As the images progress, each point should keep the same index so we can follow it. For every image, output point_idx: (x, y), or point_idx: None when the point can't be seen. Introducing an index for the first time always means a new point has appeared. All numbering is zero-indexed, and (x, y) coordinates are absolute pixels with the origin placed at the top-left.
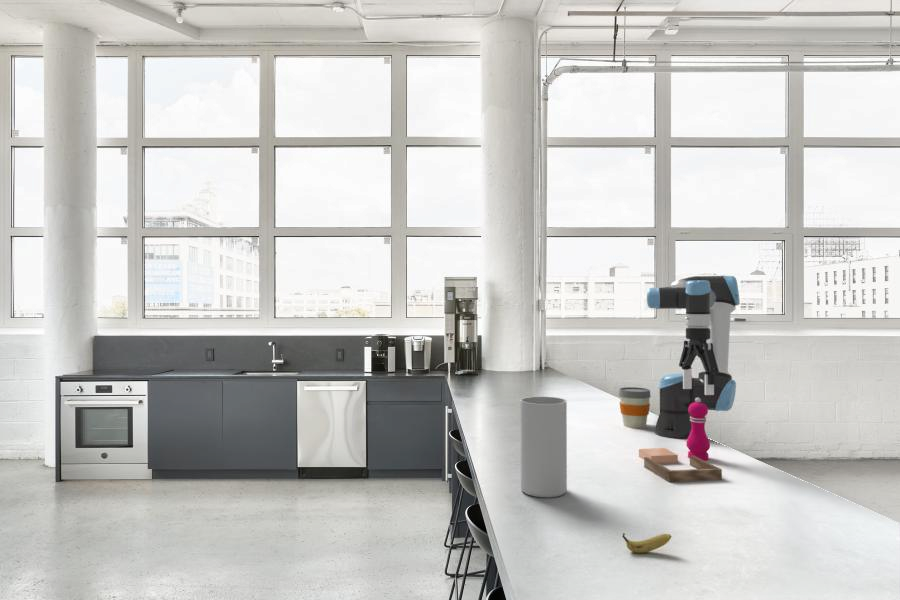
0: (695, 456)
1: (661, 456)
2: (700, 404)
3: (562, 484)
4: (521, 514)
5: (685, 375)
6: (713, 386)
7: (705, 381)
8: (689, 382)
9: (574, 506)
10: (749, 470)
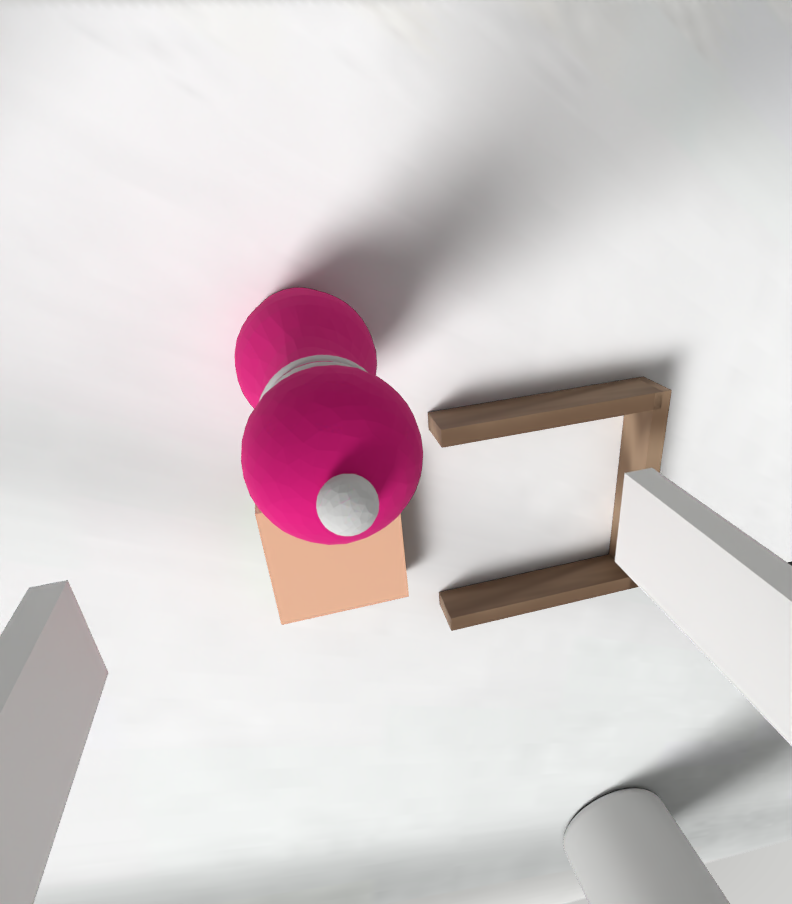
0: (461, 426)
1: (404, 554)
2: (398, 479)
3: (671, 817)
4: (720, 832)
5: (20, 877)
6: (733, 530)
7: (755, 681)
8: (46, 687)
9: (715, 767)
10: (549, 166)
